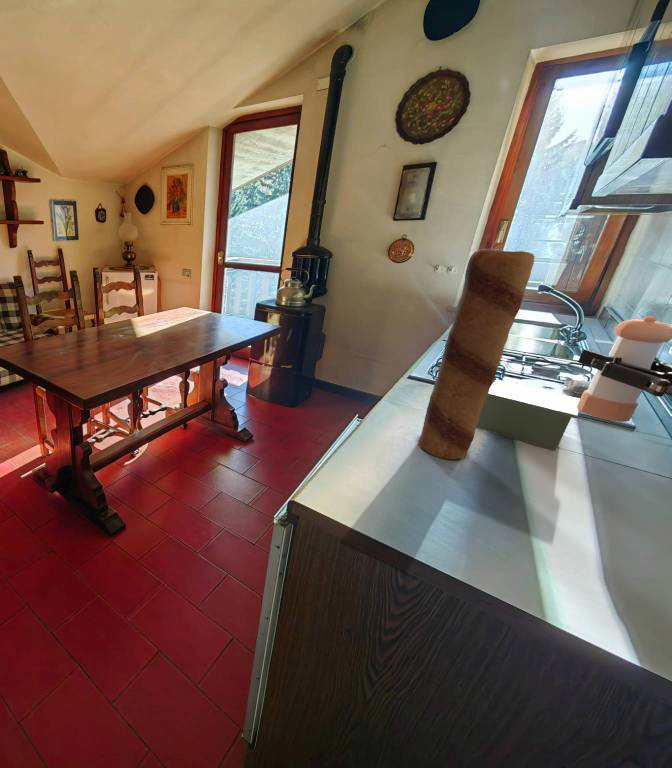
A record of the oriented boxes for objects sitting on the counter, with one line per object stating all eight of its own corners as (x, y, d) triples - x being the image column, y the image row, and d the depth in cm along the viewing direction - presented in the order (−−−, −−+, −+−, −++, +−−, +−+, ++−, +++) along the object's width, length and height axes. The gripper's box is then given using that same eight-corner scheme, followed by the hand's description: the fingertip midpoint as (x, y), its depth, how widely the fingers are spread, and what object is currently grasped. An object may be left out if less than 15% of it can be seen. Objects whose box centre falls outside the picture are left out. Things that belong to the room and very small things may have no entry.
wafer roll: (408, 434, 99) (464, 247, 81) (456, 441, 96) (525, 249, 78) (420, 455, 90) (486, 250, 72) (473, 464, 87) (556, 252, 69)
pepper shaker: (628, 413, 76) (680, 317, 69) (631, 425, 71) (687, 323, 64) (576, 401, 81) (619, 310, 74) (575, 412, 76) (622, 316, 69)
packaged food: (559, 397, 122) (566, 383, 120) (561, 387, 129) (568, 374, 127) (599, 407, 116) (607, 392, 114) (599, 396, 123) (606, 382, 121)
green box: (560, 431, 101) (575, 400, 98) (555, 451, 92) (571, 417, 89) (484, 411, 112) (495, 382, 109) (473, 426, 103) (484, 395, 100)
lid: (579, 401, 97) (580, 398, 97) (576, 418, 88) (577, 415, 88) (495, 382, 109) (496, 379, 108) (484, 395, 100) (485, 392, 99)
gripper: (676, 428, 58) (542, 372, 79) (810, 433, 57) (638, 375, 78) (704, 381, 55) (558, 336, 76) (845, 386, 54) (657, 339, 75)
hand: (599, 356), depth 77 cm, fingers closed on pepper shaker, 5 cm apart
